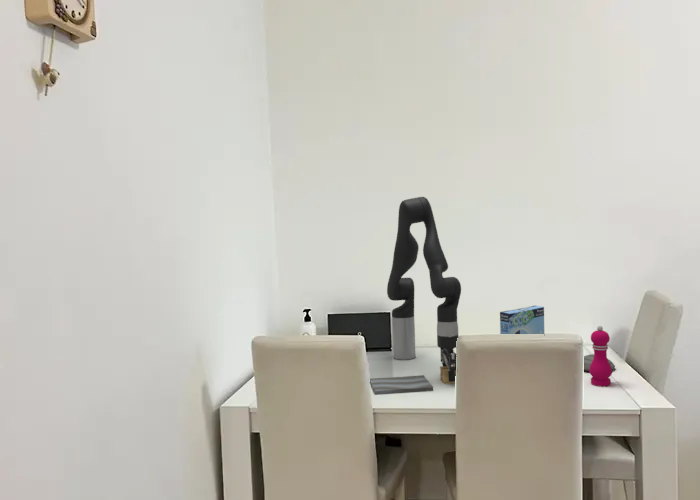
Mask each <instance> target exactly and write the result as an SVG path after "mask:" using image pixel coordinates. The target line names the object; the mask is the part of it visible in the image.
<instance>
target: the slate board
mask: <svg viewBox="0 0 700 500" xmlns="http://www.w3.org/2000/svg"><path fill="white" fill-rule="evenodd" d="M369 379H370V382H369V384H370V386H371V388H372V391H373V394H374V395H386V394H387V395H388V394H390V395H391V394H402V393H403V394H404V393H418V392H419V393H420V392H431V391H432V392H433V391H434V387H433V385H432V384H431V383H430V381H429V380H428V379H427V378H426V376H425V375H424V374H423V375H420V374H419V375H407V376H391V377H375V378H374V377H373V378H369Z"/></svg>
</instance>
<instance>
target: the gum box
mask: <svg viewBox="0 0 700 500" xmlns="http://www.w3.org/2000/svg"><path fill="white" fill-rule="evenodd" d="M499 322H500V323H499V327H500V328H499V329H500V330H499V331H500V334H544V335H545V307H544V306H543V305H532V306H531V305H530V306H526V307H521V308H516V309H511V310H504V311H500V312H499ZM500 334H499V335H500Z"/></svg>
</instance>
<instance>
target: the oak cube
mask: <svg viewBox="0 0 700 500" xmlns="http://www.w3.org/2000/svg"><path fill="white" fill-rule="evenodd" d="M439 367H440V368H439V369H440V373H439V374H440V381H441V382H442V384H444V385H447V384H456V383H455V381H454V382H450V381H449V376H448V366H444V367H443V366H439ZM451 367H453V365H451ZM455 376H456V371H455Z"/></svg>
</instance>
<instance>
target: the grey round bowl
mask: <svg viewBox="0 0 700 500" xmlns="http://www.w3.org/2000/svg"><path fill="white" fill-rule="evenodd" d="M583 356H584V370H583V371H586V372H589V369H590V365H591V363H592V361H593V358H594V353H592V354H591V353H590V354H587V355H583ZM607 360H608V362H609V364H610V366H611V369H612V370H613V369H615V367H616V365H615V363H614V362H612V361H611V360H610V359H608V358H607Z"/></svg>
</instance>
